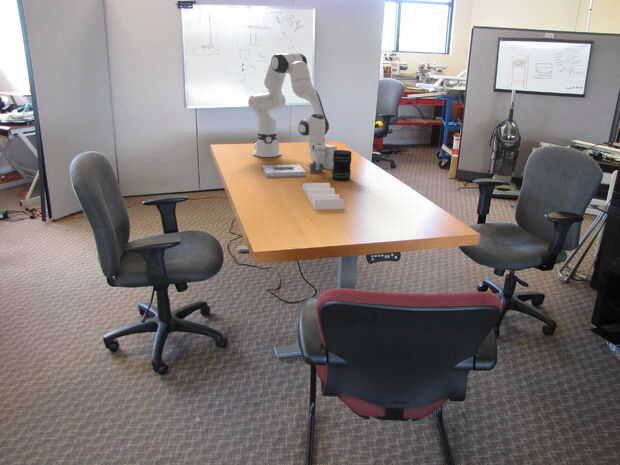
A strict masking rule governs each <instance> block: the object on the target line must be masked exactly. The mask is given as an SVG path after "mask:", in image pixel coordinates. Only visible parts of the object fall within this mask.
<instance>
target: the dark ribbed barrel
mask: <svg viewBox="0 0 620 465" xmlns="http://www.w3.org/2000/svg"><path fill="white" fill-rule="evenodd" d="M333 162H334V163H333V169H332V177H331V178H332V180H333V181H335V182H349V181H351V175H352V174H351V163H352V151H350V150H346V149H337V150H336V151H334V154H333Z"/></svg>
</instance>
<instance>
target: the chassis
mask: <svg viewBox="0 0 620 465" xmlns="http://www.w3.org/2000/svg"><path fill="white" fill-rule="evenodd" d="M261 169H262V172H263V174H264V176H265V177H266V178H284V177H285V178H288V177H290V178H291V177H306V176H307V171H306V170H305V169H304V167H303V166H302V165H301V164H267V165H265V164H264V165H262V168H261Z"/></svg>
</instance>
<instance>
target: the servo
mask: <svg viewBox="0 0 620 465" xmlns="http://www.w3.org/2000/svg"><path fill="white" fill-rule="evenodd" d="M307 167H309V172H310V173H311V174H312V173H323V172H324V168H323V167H325V165H324V164H320V166H319V170H316V162H313V161H312V162H309V164H308V163H307Z"/></svg>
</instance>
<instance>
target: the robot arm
mask: <svg viewBox="0 0 620 465" xmlns="http://www.w3.org/2000/svg"><path fill="white" fill-rule="evenodd" d="M286 74H289V77H290V83H291V88H292V91H293V94H294V95H296V96H297V97H298V98H300V99H304V100H305V101H307V102H309V103H310V105H311V106H312V109H313V112H314V114H311V115H310V116H309V117H308V118H304V119H301V120H300V121H299V123H298V131H299V134H300V135H301V136H305V137H309V142H308V147H309V148H310V149H309V157H310V158H311V159H312V162H316V170H319V166H320V164H323V162H324V155H325V151H324V150H326V146H325V145H326V137H325V135H326V134H328V132H329V130H330V124H329V121H328V119H327V117H326V113H325V110H324V107H323V104H322V100H321V97H320V94H319V93H318V91H317V90H316V89H315V88H314V86H313V84H312V81H311V75H310V70H309V68H308V59H307V57H306V56H305V55H304V54H302V53H295V52H287V53H286V52H283V53H281V52H280V53H276V54H274V55H272V57H271V60H270V63H269V66H268V68H267V71H266V75H265V78H264V81H263V84H264V87H265V88H266V89H267V92H262V93H261V92H260V93H255V94H251V95H250V96H249V98H248V100H247V101H248V102H247V103H248V107H249V109H250V110H251V111H252V112H253V113H254V114H255V117H256V118H257V123H258V125H257V126H258V134H257V141H256V143H254V148H255V149H254V150H253V152H252V155H253V156H256V157H261V158H273V157H274V158H275V157H278V156H282V155H283V153H282V152H280V142H279V141H278V135H277V134H278V133H277V121H276V120H275V118H274V117H272V116H271V115H270V112H272V111H273V112H274V111H279V110H283V109H284V108H285V106H286V103H287V102H286V97H285V95H284V94H283V92H282V88H283V84H284V81H285V77H286Z"/></svg>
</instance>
